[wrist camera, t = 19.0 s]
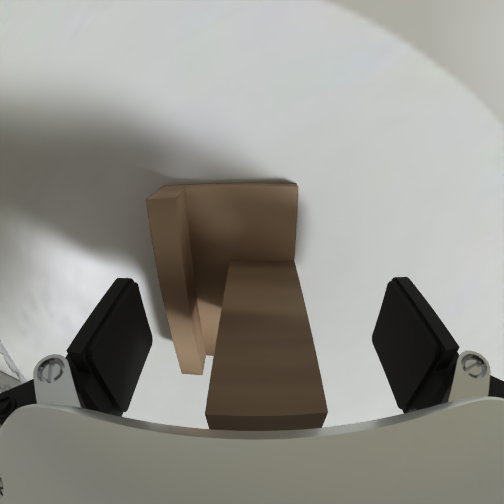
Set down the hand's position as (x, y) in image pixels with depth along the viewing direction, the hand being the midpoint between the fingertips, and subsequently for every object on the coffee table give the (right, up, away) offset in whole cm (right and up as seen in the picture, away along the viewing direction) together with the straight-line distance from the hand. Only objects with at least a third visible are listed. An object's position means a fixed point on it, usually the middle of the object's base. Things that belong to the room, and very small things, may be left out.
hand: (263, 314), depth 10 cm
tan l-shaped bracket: (-1, +1, +5) cm, 5 cm away
